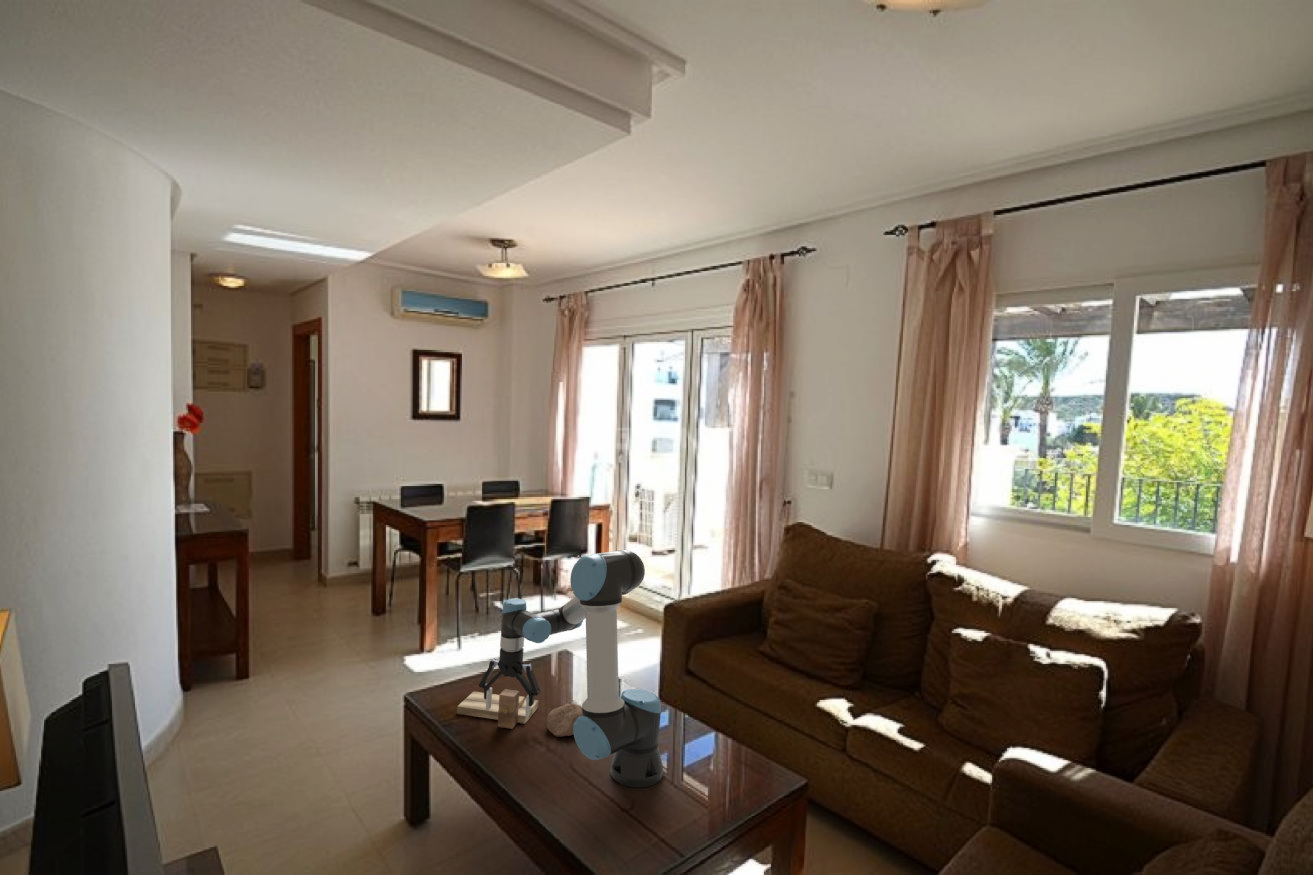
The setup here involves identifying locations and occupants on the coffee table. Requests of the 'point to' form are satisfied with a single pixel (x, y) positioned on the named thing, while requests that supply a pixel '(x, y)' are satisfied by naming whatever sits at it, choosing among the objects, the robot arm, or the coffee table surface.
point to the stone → (563, 719)
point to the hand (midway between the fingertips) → (508, 711)
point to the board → (477, 707)
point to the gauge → (509, 708)
